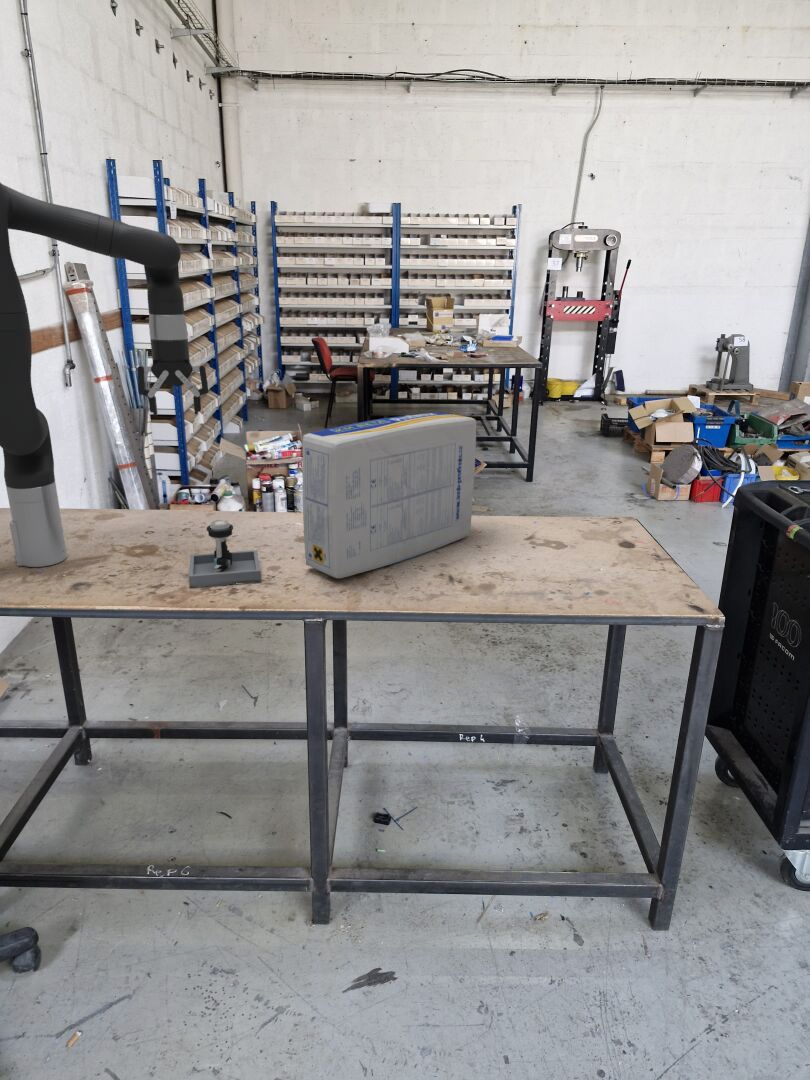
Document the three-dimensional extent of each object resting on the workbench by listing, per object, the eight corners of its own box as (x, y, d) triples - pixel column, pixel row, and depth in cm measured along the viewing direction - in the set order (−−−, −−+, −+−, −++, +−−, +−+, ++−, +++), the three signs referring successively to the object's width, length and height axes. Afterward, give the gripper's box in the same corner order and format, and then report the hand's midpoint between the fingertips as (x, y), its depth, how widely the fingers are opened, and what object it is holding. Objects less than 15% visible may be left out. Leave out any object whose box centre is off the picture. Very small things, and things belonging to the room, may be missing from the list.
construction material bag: (438, 526, 180) (442, 407, 169) (473, 538, 172) (479, 414, 162) (301, 570, 151) (296, 430, 141) (336, 586, 144) (333, 440, 133)
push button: (228, 575, 146) (224, 529, 143) (203, 573, 147) (199, 528, 143) (239, 563, 152) (236, 519, 149) (215, 562, 153) (212, 518, 149)
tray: (189, 588, 141) (188, 576, 140) (191, 565, 152) (190, 554, 151) (261, 582, 145) (260, 570, 144) (257, 560, 156) (257, 550, 155)
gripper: (131, 338, 144) (140, 418, 149) (204, 338, 147) (210, 416, 153) (134, 335, 150) (143, 412, 156) (204, 335, 154) (210, 410, 159)
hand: (176, 414), depth 154 cm, fingers open, 8 cm apart
